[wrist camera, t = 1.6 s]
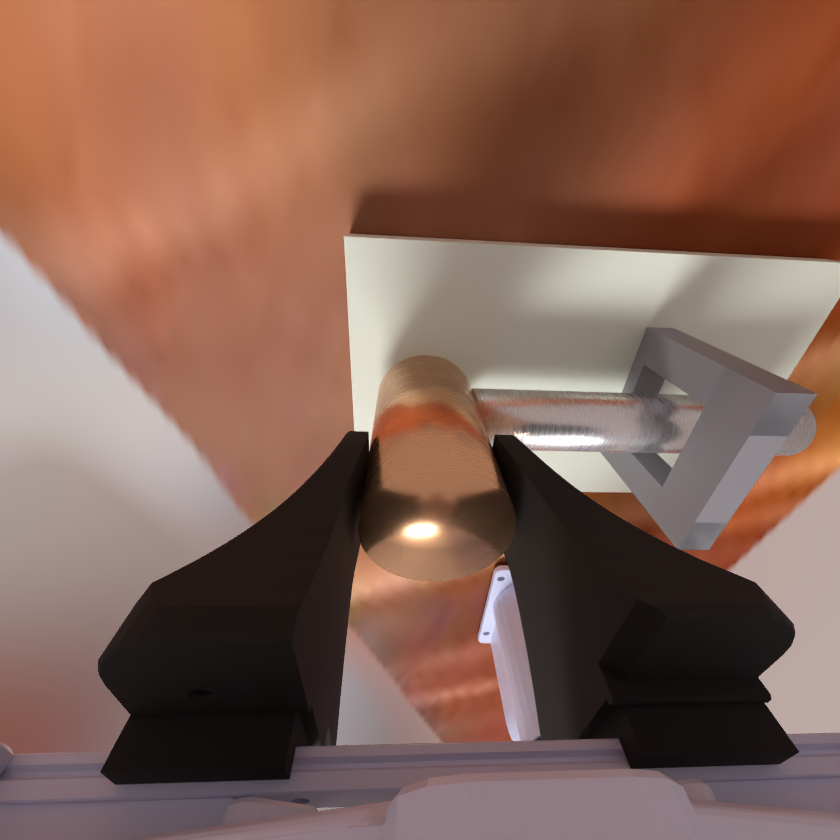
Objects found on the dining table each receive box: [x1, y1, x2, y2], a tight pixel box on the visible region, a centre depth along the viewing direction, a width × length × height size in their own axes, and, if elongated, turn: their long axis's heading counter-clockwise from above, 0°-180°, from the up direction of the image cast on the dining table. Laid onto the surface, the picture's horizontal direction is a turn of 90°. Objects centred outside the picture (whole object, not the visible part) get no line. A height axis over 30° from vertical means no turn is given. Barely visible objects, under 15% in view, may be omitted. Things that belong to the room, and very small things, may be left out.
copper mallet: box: [358, 355, 816, 581], centre depth 12 cm, size 4×17×7 cm, turn 87°
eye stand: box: [344, 234, 840, 550], centre depth 14 cm, size 12×20×8 cm, turn 87°
